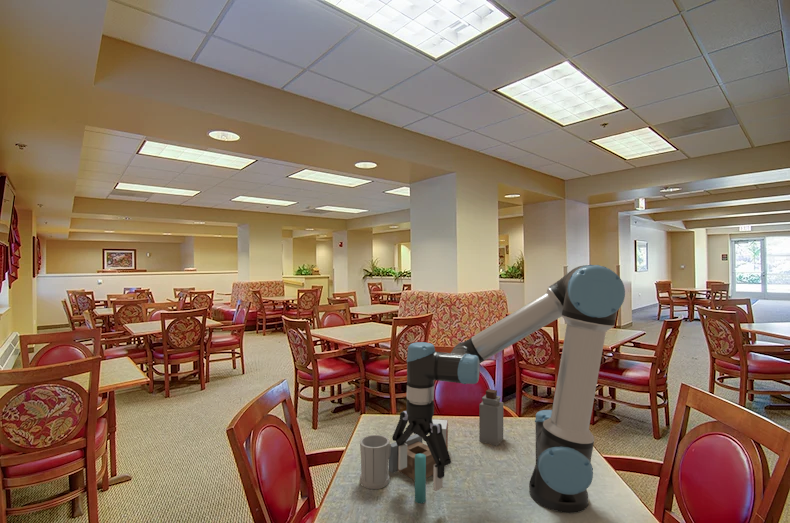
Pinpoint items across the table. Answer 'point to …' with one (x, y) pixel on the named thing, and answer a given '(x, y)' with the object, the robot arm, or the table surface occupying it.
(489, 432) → the perfume bottle
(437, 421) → the small box
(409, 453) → the block
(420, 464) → the dowel
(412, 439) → the wall
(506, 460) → the table surface
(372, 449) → the cup
